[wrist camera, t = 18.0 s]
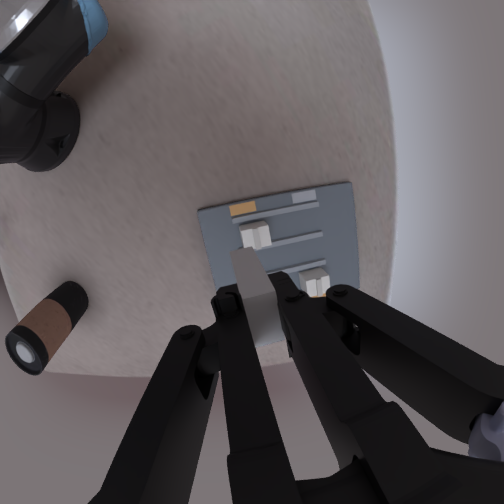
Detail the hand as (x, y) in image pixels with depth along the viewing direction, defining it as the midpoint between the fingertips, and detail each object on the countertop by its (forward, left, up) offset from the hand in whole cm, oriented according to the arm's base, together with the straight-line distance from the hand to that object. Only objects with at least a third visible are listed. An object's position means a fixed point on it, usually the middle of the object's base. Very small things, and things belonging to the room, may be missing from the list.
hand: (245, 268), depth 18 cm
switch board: (+8, -9, -27) cm, 30 cm away
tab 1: (+3, -4, -25) cm, 25 cm away
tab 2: (+12, -14, -25) cm, 31 cm away
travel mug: (-33, -9, -28) cm, 44 cm away
